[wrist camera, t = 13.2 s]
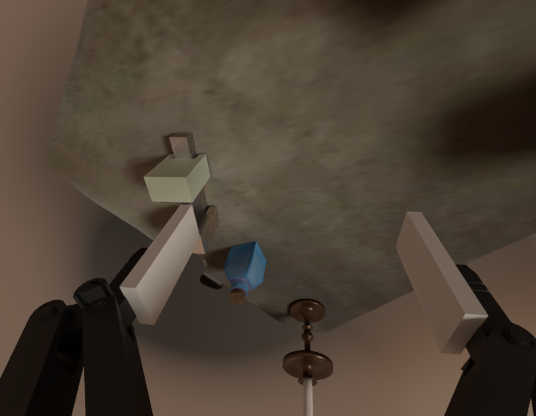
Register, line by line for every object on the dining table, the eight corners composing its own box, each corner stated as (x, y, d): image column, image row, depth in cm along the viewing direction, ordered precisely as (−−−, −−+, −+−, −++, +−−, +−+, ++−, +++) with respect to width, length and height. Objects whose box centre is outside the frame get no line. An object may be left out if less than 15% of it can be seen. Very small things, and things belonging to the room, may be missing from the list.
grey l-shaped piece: (165, 132, 44) (135, 153, 37) (202, 132, 44) (179, 153, 36) (191, 231, 57) (173, 262, 49) (221, 232, 56) (207, 264, 48)
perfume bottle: (256, 241, 56) (245, 285, 46) (266, 261, 59) (258, 306, 49) (231, 246, 58) (215, 289, 48) (242, 265, 61) (229, 309, 51)
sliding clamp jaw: (169, 154, 46) (143, 176, 39) (205, 154, 45) (186, 177, 38) (176, 179, 49) (153, 205, 42) (210, 180, 48) (193, 206, 41)
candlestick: (281, 315, 70) (264, 510, 41) (294, 291, 64) (285, 502, 35) (318, 325, 70) (327, 525, 42) (335, 303, 64) (358, 520, 36)
